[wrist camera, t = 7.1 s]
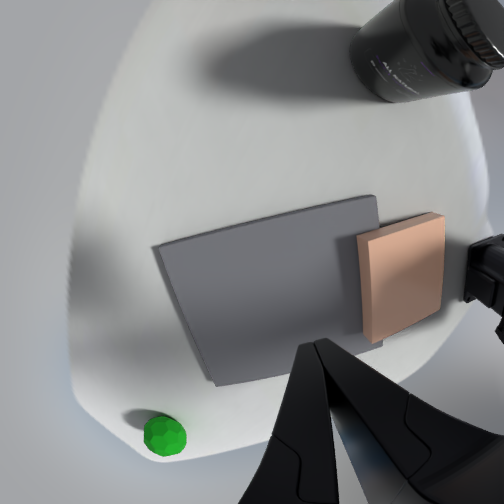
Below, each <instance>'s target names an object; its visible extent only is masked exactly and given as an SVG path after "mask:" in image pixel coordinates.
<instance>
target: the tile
mask: <svg viewBox="0 0 504 504" xmlns="http://www.w3.org/2000/svg"><path fill="white" fill-rule="evenodd" d="M356 236H357V245H358V254H359V265H360V278H361V293H362V313H363V335H364V336H365V337H366V338H367V339H368V340H369V341H370V342H371V344H373V343H376V342H378V341H380V340H382V339H384V338H386V337H388V336H391V335H393V334H395V333H397V332H399V331H401V330H403V329H405V328H407V327H409V326H411V325H413V324H414V323H416V322H418V321H420V320H422V319H424V318H426V317H427V316H429V315H431V314H433V313H435V312H436V311H438V310H440V305H441V296H442V286H443V272H444V251H445V217H444V215H440V214H437V213H433V212H430V213H427V214H424V215H421V216H418V217H414V218H411V219H408V220H405V221H402V222H399V223H395V224H392V225H389V226H386V227H382V228H379V229H376V230H373V231H370V232H366V233H363V234H360V235H356Z"/></svg>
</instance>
